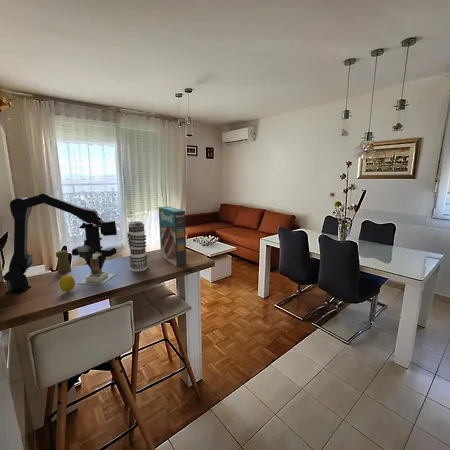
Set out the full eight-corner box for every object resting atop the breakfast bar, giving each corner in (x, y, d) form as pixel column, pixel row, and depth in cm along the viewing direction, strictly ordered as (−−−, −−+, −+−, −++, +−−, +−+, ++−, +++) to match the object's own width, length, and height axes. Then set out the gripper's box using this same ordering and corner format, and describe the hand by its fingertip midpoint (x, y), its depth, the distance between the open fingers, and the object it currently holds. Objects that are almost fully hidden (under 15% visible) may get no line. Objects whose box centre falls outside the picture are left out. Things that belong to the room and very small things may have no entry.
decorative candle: (127, 267, 132) (124, 221, 127) (144, 263, 138) (141, 219, 133) (132, 273, 125) (129, 224, 120) (150, 268, 131) (148, 222, 125)
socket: (77, 283, 113) (76, 278, 112) (93, 273, 124) (92, 268, 124) (102, 285, 112) (101, 279, 111) (116, 274, 123) (115, 269, 123)
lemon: (59, 292, 105) (56, 274, 103) (74, 288, 108) (71, 271, 107) (62, 296, 101) (59, 278, 99) (77, 292, 105) (75, 274, 103)
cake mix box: (160, 255, 152) (158, 207, 146) (170, 253, 155) (168, 206, 149) (176, 266, 135) (174, 211, 128) (186, 263, 138) (184, 210, 132)
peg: (89, 274, 115) (87, 260, 114) (94, 270, 120) (93, 257, 118) (98, 274, 115) (96, 260, 113) (103, 271, 119) (102, 257, 118)
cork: (74, 269, 129) (71, 249, 126) (63, 274, 123) (61, 253, 121) (64, 268, 130) (62, 248, 128) (54, 273, 124) (51, 252, 122)
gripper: (60, 240, 106) (65, 274, 110) (102, 242, 105) (105, 276, 108) (78, 234, 117) (81, 265, 121) (115, 235, 116) (118, 267, 119)
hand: (96, 268), depth 117 cm, fingers closed on peg, 4 cm apart
